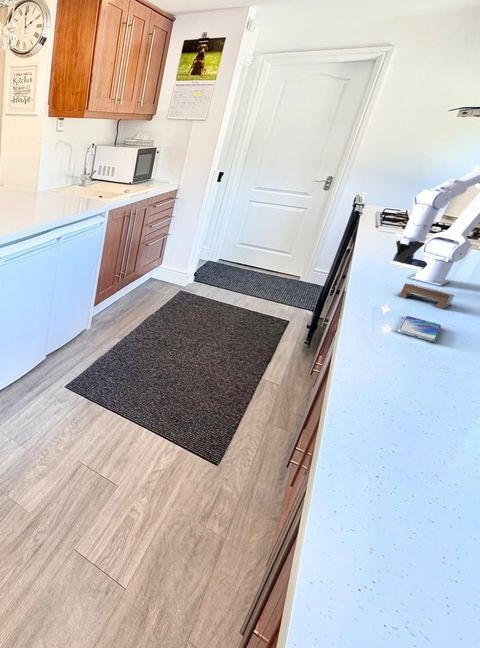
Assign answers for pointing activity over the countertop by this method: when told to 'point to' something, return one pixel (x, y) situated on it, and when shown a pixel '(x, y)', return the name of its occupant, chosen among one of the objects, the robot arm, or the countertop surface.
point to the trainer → (411, 263)
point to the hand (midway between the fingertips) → (402, 260)
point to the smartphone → (420, 328)
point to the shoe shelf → (427, 294)
